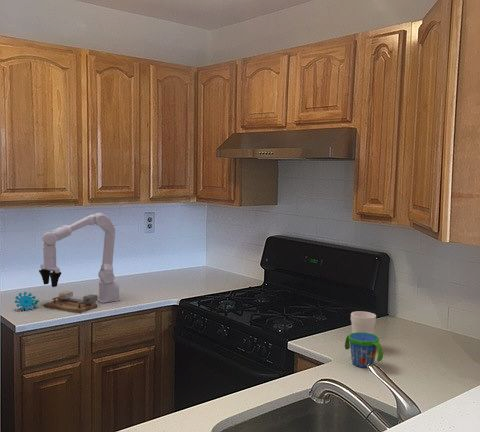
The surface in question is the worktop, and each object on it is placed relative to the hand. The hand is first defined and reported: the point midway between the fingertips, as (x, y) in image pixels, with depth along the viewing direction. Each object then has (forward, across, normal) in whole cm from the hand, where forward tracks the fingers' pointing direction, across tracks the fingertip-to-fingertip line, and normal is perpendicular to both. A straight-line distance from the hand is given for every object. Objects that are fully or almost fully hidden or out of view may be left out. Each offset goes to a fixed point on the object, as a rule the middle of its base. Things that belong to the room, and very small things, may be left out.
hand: (50, 285), depth 257 cm
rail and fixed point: (+8, +9, +6) cm, 14 cm away
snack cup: (+10, +146, +39) cm, 151 cm away
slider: (+8, +3, +4) cm, 9 cm away
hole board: (+10, +9, +5) cm, 14 cm away
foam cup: (+10, +137, +54) cm, 147 cm away
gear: (+10, -2, -11) cm, 15 cm away
